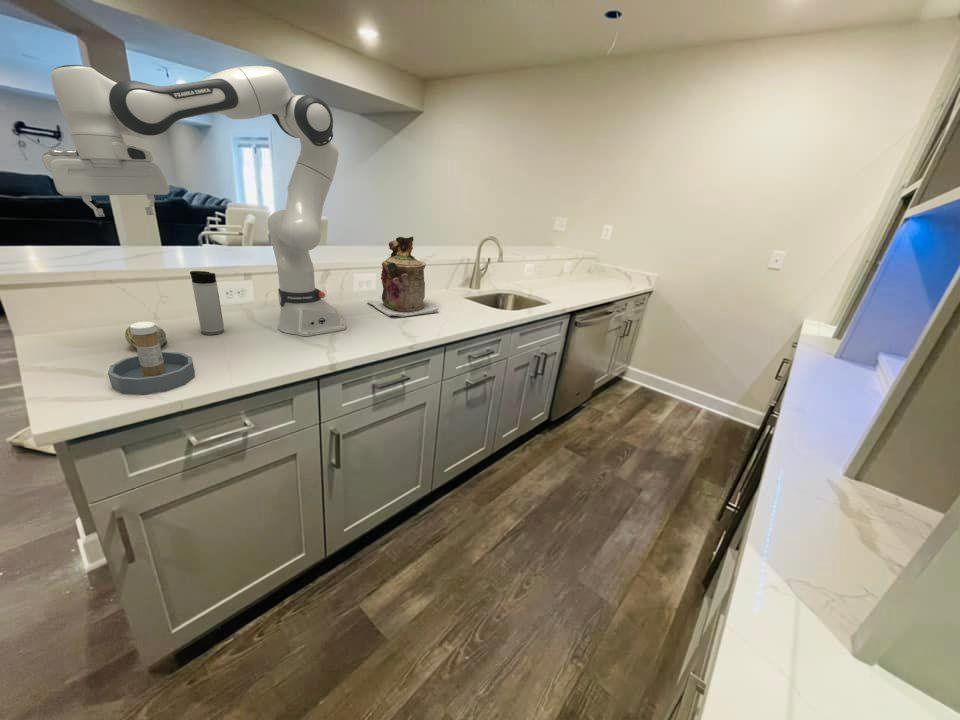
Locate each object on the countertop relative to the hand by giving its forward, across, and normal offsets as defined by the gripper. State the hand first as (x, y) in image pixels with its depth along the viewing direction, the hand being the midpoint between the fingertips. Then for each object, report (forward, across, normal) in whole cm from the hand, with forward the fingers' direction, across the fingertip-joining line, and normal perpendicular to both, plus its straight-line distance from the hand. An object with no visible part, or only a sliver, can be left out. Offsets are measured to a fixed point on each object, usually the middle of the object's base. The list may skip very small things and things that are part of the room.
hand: (126, 215), depth 94 cm
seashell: (+36, -6, +8) cm, 37 cm away
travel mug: (+37, +10, +14) cm, 41 cm away
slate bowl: (+37, -5, -16) cm, 41 cm away
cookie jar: (+44, +82, +19) cm, 95 cm away
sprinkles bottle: (+36, -5, -16) cm, 40 cm away
